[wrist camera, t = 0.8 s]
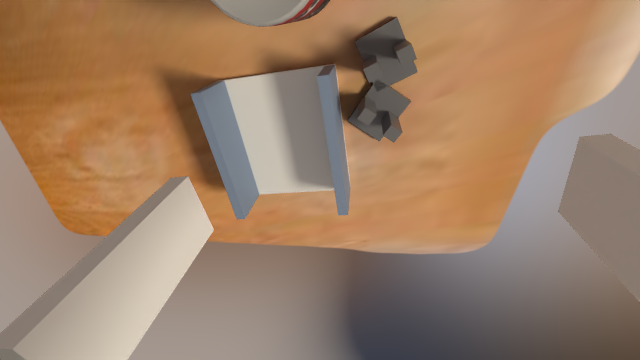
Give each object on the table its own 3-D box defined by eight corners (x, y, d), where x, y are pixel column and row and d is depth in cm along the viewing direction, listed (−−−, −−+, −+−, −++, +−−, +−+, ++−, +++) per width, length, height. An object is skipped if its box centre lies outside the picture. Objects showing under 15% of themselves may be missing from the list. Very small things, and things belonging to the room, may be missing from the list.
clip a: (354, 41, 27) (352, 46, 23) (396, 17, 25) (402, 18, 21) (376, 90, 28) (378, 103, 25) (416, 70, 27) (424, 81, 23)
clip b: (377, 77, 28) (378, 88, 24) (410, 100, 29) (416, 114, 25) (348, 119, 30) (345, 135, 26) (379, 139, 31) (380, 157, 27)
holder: (217, 80, 30) (190, 93, 26) (335, 63, 28) (329, 74, 23) (253, 192, 37) (236, 219, 32) (350, 186, 35) (347, 214, 30)
